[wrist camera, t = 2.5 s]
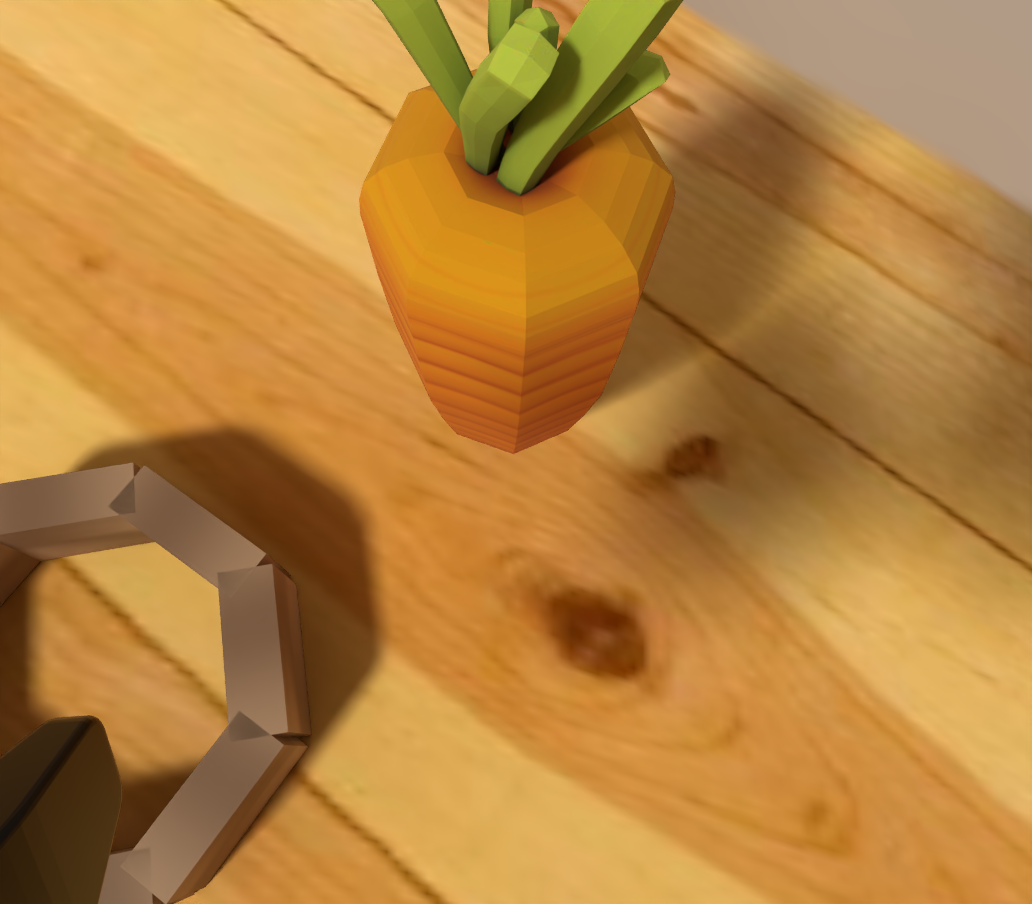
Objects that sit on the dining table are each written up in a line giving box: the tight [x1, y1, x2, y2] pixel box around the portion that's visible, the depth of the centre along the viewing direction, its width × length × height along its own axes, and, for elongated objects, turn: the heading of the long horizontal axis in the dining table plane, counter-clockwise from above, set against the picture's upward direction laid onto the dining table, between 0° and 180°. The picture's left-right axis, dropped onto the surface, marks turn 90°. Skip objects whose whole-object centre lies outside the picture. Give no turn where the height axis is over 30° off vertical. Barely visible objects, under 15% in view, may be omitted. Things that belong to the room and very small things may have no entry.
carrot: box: [359, 0, 683, 454], centre depth 16 cm, size 5×5×15 cm
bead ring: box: [0, 463, 312, 904], centre depth 20 cm, size 9×9×2 cm
